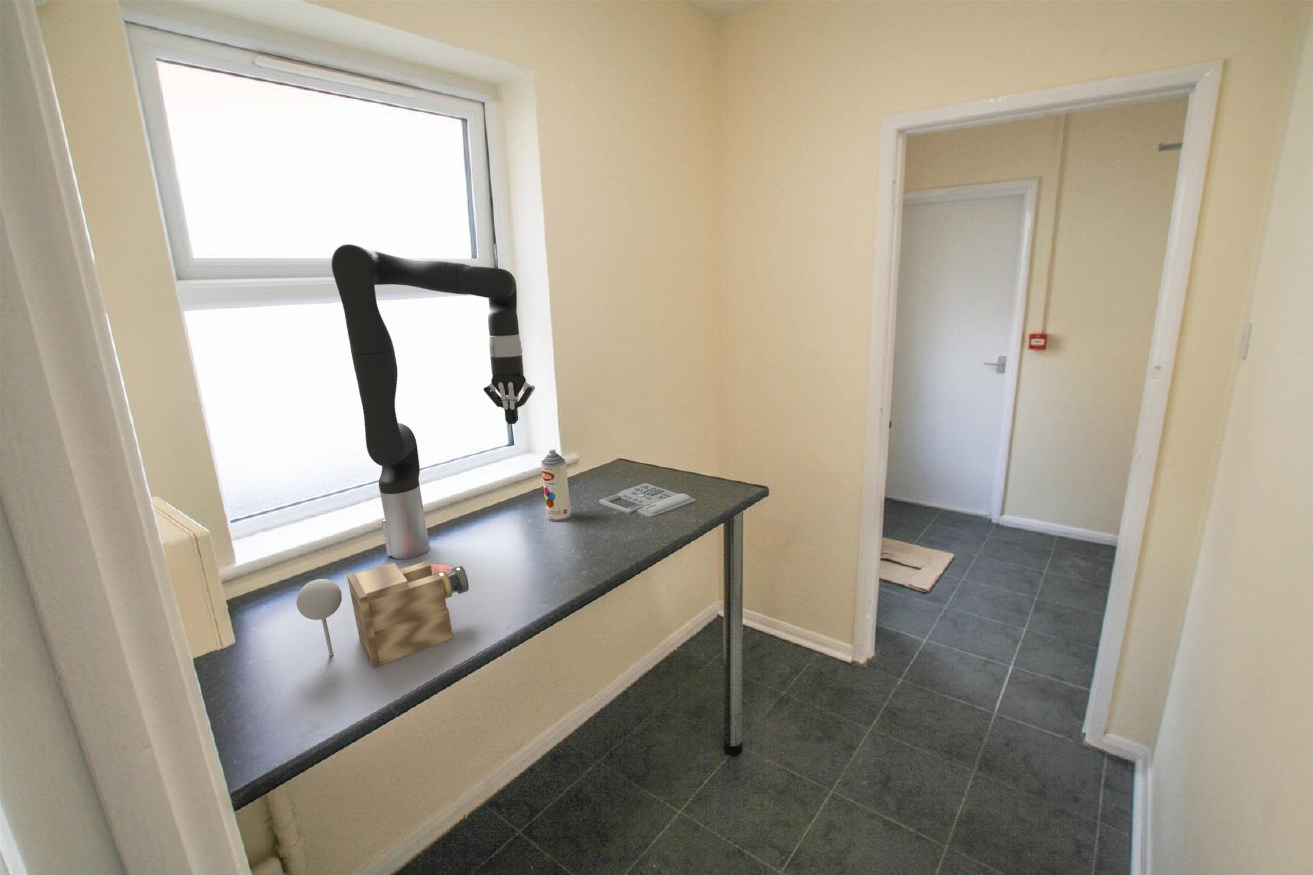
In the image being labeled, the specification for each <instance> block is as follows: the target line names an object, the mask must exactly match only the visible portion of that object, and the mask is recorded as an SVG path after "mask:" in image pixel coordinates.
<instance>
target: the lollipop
mask: <svg viewBox="0 0 1313 875" xmlns="http://www.w3.org/2000/svg"><path fill="white" fill-rule="evenodd" d="M342 597H343V596H342V590H341V588H340V587H339V585H338V584H337V583H336V582H334V581H332V580H330V579H328V578H318V579H317V578H316V579H314V580H311V581H309V582H307V583H306V584H304V585H303V586H302V588H301V589H300V590H299V592H298V594H297V597H296V601H295V602H296V607H297V610H298V612H299V613H300V615H302V616H303V617H305V618H306V619H309V620H312V621H313V620H314V621H319V620H321V623H322V627H323V631H324V636H325V640H326V641H325V642H326V645H327V652H328V656H329V657H332V655H333V656H334V650H333V646H332V641H331V637H330V636H331V635H330V632H329V628H328V622H327V618H329V617H331V616H332V615H333V614H335V613H336V612H337V610H338V609H339V608H340V606H341V603H342V601H343V600H342V599H343V598H342Z"/></svg>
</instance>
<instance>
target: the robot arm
mask: <svg viewBox="0 0 1313 875" xmlns="http://www.w3.org/2000/svg"><path fill="white" fill-rule="evenodd" d="M330 259H331V260H330V261H331V262H330V263H331V264H330V265H331V266H330V267H331V271H332V276H333V278H334V281H335V284H336V288H337V291H338V294H339V297H340V300H341V303H342V308H343V311H344V318H345V325H346V329H347V337H348V340H349V348H350V354H351V357H352V364H353V369H354V373H355V377H356V382H357V387H358V391H359V396H360V401H361V402H360V403H361V407H362V411H363V419H364V431H365V432H364V433H365V443H366V446H365V447H366V451H367V453H368V456H369V457H370V459H371V460H372V461H373V462H374V464H376V465H378V466H381V473H380V476H379V478H378V488H379V489H378V490H379V492H380V498H381V504H382V509H383V516H384V519H383V520H381V526H382V531H383V536H384V537H383V538H384V544H385V548H386V554H387V557H391V558H393V559H397V560H407V559H412V558H416V557H418V556H421V555H423V554H425V553H427V552H428V551H429V549H430V544H429V543H430V541H429V536H428V530H427V523H426V518H425V517H426V516H425V510H424V506H423V499H422V493H421V486H420V479H419V478H420V472H421V468H420V458H419V451H418V450H419V449H418V445H417V444H418V443H417V440H416V436H415V434H414V432H413V430H412V429H411V428H410V427H409V426H407V425H406V424H404V423H400V422H398V418H397V412H396V395H397V394H396V393H397V387H398V386H397V385H398V376H399V375H398V372H399V371H398V363H397V357H396V352H395V348H394V342H393V339H392V338H391V335H390V332H389V330H388V328H387V326H386V323H385V322H384V320H383V316H382V315H381V312H380V310H379V307H378V303H377V302H378V301H377V297H376V296H377V294H376V289H375V288H376V286H381V285H387V286H388V285H393V286H394V285H395V286H396V285H399V286H409V287H414V288H419V289H423V290H429V291H433V292H438V293H439V292H440V293H445V294H446V293H447V294H454V295H455V294H456V295H471V296H475V297H481V298H487V299H488V306H489V312H488V314H487V323H488V335H489V336H488V338H489V340H488V341H489V342H488V347H489V356H490V365H491V368H490V369H491V374H492V377H491V379H490V381H491V383H490V384H488V385H487V386H485V387H483V392H484V393H485V394H486V395H487V396H488V398H489V399H490V400H491V401H492V402H493V403H494V405H495V406H496V407H497V408H501V409H503V410H504V417H505V419H504V420H505V422H507V424H508V425H515V424H517V422H518V421H519V411H518V409H519V408H521V407H522V406H524V405H525V404H526V402H528V400H529V398H530V397H531V396H532V394H533V392H534V391H535V389H536V387H535V385H531V384H530V383H529V382H527V378H526V377H525V375H524V362H523V349H522V341H521V337H520V329H519V318H518V311H517V309H518V306H517V305H518V304H517V303H518V297H517V296H518V295H517V294H518V292H517V281H516V278H515V276H514V275H513V274H512V273H511V272H510V271H508V270H506V269H503V268H500V267H489V266H488V267H487V266H478V265H477V266H476V265H475V266H474V265H473V266H472V265H469V264H466V263H460V262H452V261H443V260H435V259H434V260H433V259H415V258H405V257H400V256H395V255H391V254H388V253H384V252H381V251H378V250H374V249H371V248H369V246H368V247H367V246H366V245H360V244H355V243H345V244H341V245H340V246H337V248H335V250H334V251H333V254H332V255H331V258H330ZM522 390H523V393H522V395H521V396H520V395H519V394H520V392H521V391H522ZM497 392H498V393H497ZM499 394H500V395H499ZM519 397H520V398H519Z"/></svg>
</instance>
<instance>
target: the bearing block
mask: <svg viewBox="0 0 1313 875" xmlns="http://www.w3.org/2000/svg"><path fill="white" fill-rule="evenodd" d="M430 564H431V563H429V562H428V560H426V561H423V562H419V563H417V564H413V565H410V566H409V565H408V566H405V567H402V568H399V567H398V566H397V565H396V563H394V562H393V563H389V564H386V565H382V566H378V567H375V568H373V569H369V570H365V571H362V572H359V573H355V572H354V571H353V572H350V573H347V574H346V578H347V582H348V588H349V592H350V593H349V594H350V597H351V598H350V599H351V603H352V604H351V605H352V607H353V614H354V617H355V623H356V629H357V634H358V638H359V641H360V643H361V645H362V647H363V650H364V649H365V650H364V652H365V654H366V656H367V658H368V660H369V662H370V664H371V666H373V667H372V668H376V666H377V667H379V666H382V665H385V664H387V663H389V662H392V661H395V660H398V659H401V658H403V657H406V656H408V655H411V654H414V653H417V652H419V651H421V650H424V649H428V648H429V647H433V646H435V645H438V644H441V643H444V642H446V641H449V640H451V639H453V638H454V636H453V629H452V623H451V622H452V621H451V616H450V610H449V607H448V606H447V601H446V599H447V598H446V599H445V593H444V587H443V580H442V577H441V576H440V575H439V574H435V575H432V570H431V565H430Z"/></svg>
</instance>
